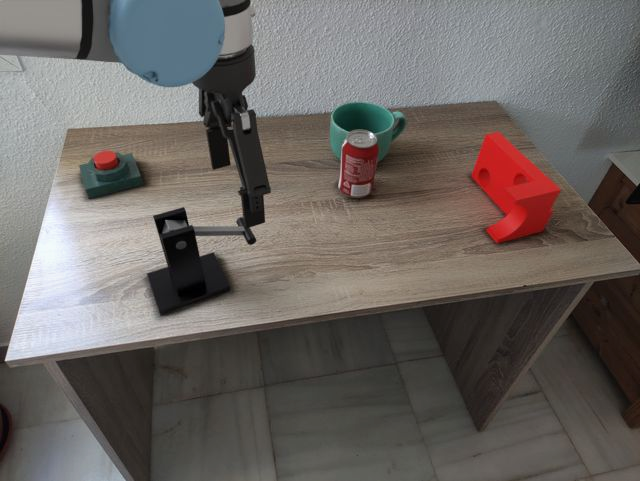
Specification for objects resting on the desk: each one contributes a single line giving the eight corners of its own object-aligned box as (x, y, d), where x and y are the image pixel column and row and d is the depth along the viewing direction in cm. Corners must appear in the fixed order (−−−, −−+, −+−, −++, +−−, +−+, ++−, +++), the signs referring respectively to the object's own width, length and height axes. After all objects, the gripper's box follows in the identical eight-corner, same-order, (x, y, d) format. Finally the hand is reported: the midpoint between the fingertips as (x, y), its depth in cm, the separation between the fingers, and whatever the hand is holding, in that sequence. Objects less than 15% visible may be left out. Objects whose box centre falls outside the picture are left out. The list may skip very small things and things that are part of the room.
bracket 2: (566, 188, 79) (516, 200, 76) (542, 231, 87) (496, 243, 84) (502, 130, 91) (458, 139, 88) (486, 173, 98) (444, 182, 95)
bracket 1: (214, 256, 79) (203, 194, 69) (230, 291, 74) (221, 229, 64) (148, 278, 75) (126, 215, 65) (160, 315, 70) (138, 254, 60)
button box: (88, 198, 87) (81, 181, 84) (82, 174, 92) (75, 157, 89) (143, 184, 91) (138, 168, 88) (134, 161, 95) (129, 145, 92)
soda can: (373, 201, 90) (382, 150, 81) (338, 200, 90) (343, 148, 81) (371, 179, 95) (379, 128, 86) (337, 177, 95) (342, 126, 86)
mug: (339, 178, 94) (343, 139, 88) (320, 143, 103) (323, 104, 96) (413, 166, 98) (422, 127, 92) (390, 133, 107) (397, 95, 100)
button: (98, 173, 87) (95, 165, 85) (94, 161, 89) (91, 153, 88) (120, 167, 88) (118, 160, 87) (116, 156, 91) (113, 148, 89)
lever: (242, 226, 75) (246, 214, 73) (254, 247, 72) (258, 235, 70) (159, 226, 67) (162, 213, 66) (168, 250, 64) (172, 236, 63)
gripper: (299, 91, 45) (298, 243, 60) (215, 0, 60) (232, 140, 75) (223, 108, 42) (243, 262, 58) (156, 8, 57) (186, 151, 72)
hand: (237, 193), depth 66 cm, fingers open, 13 cm apart
